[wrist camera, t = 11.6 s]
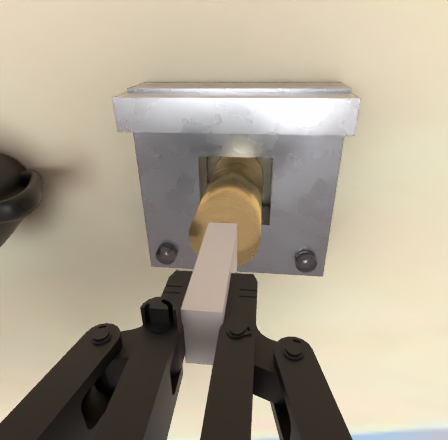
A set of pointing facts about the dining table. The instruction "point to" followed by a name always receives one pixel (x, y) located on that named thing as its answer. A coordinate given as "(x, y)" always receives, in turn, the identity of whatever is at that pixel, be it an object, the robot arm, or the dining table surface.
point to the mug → (16, 194)
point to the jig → (240, 147)
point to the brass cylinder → (232, 205)
